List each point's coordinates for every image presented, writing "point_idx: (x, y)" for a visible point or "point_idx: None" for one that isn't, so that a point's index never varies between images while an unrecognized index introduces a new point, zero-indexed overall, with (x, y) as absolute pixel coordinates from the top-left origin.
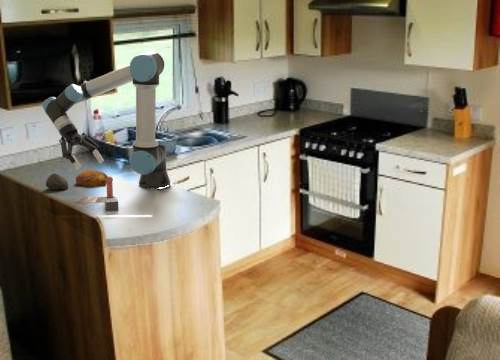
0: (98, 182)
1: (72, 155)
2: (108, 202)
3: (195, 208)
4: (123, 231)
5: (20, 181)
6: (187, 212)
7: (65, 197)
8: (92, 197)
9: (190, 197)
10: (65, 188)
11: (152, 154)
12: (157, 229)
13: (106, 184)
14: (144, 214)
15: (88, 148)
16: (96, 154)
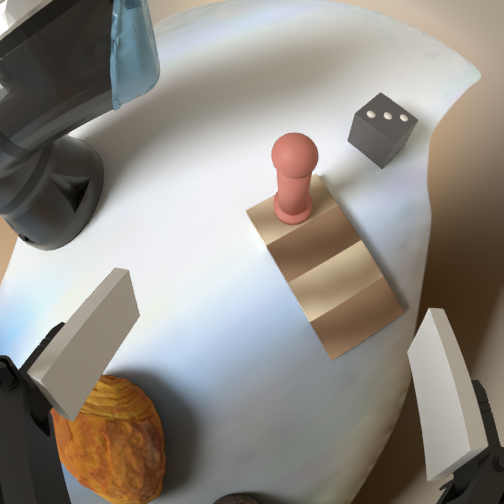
0: (132, 390)
1: (484, 440)
2: (410, 115)
3: (222, 16)
4: (447, 63)
5: None
6: (258, 14)
7: (341, 430)
8: (308, 300)
9: None
10: (246, 497)
11: None
12: (388, 21)
13: (308, 179)
14: (335, 61)
15: (61, 477)
16: (84, 357)
